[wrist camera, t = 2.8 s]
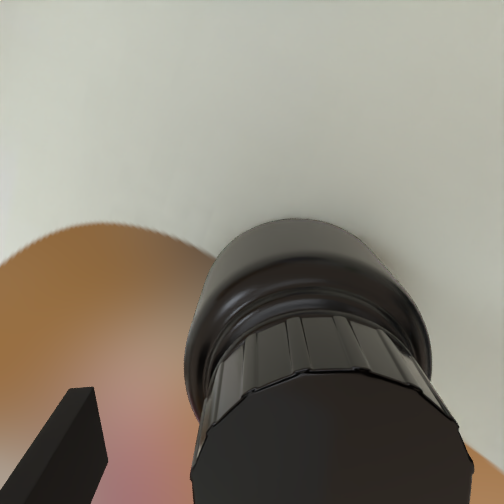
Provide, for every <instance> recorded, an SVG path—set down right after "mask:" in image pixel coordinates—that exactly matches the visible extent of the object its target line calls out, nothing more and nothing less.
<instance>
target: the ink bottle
mask: <svg viewBox="0 0 504 504" xmlns="http://www.w3.org/2000/svg"><path fill="white" fill-rule="evenodd" d="M431 374H432V352H431V344H430V339H429V335H428V331H427V328H426V325H425V322H424V320H423V318H422V315H421V313H420V311H419V309H418V308H417V306H416V304H415V303H414V301H413V300H412V298H411V297H410V295H409V294H408V293H407V291H406V290H405V289H404V288H403V287H402V285H401V284H400V283H399V282H398V281H397V280H396V279H395V277H394V276H393V275H392V274H391V273H390V272H389V271H388V269H387V268H386V267H385V266H384V265H383V264H382V262H381V261H380V260H379V259H378V258H377V257H376V256H375V254H374V253H373V252H372V251H371V250H370V249H369V248H368V247H367V246H366V245H365V244H364V243H363V242H362V241H361V240H359V239H358V238H357V237H355V236H354V235H352V234H351V233H349V232H347V231H346V230H344V229H342V228H339V227H337V226H334V225H332V224H329V223H325V222H322V221H317V220H311V219H283V220H277V221H272V222H268V223H264V224H262V225H259V226H256V227H254V228H252V229H250V230H248V231H246V232H244V233H242V234H241V235H239V236H238V237H237V238H235V239H234V240H233V241H232V242H230V243H229V244H228V245H227V246H226V247H225V248H224V250H223V251H222V252H221V253H220V254H219V256H218V257H217V259H216V260H215V262H214V263H213V265H212V267H211V269H210V271H209V273H208V275H207V278H206V281H205V283H204V287H203V290H202V293H201V296H200V299H199V302H198V305H197V309H196V312H195V315H194V318H193V321H192V324H191V327H190V330H189V334H188V338H187V342H186V348H185V356H184V377H185V385H186V390H187V395H188V398H189V402H190V404H191V407H192V410H193V412H194V414H195V416H196V418H197V420H198V422H199V424H200V425H199V430H198V435H197V440H196V446H195V451H194V456H193V461H192V467H191V472H190V480H191V481H192V489H193V501H194V504H469V502H470V493H471V483H472V474H473V473H474V464H473V461H472V459H471V457H470V456H469V454H468V452H467V450H466V447H465V445H464V442H463V440H462V437H461V435H460V433H459V430H458V429H459V425H458V424H457V422H456V420H455V419H454V417H453V416H452V414H451V413H450V411H449V410H448V408H447V407H446V405H445V404H444V402H443V401H442V399H441V398H440V396H439V395H438V393H437V392H436V390H435V389H434V387H433V385H432V384H431Z"/></svg>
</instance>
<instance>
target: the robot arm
mask: <svg viewBox="0 0 504 504" xmlns="http://www.w3.org/2000/svg"><path fill="white" fill-rule="evenodd" d="M107 463H108V457H107V452H106V447H105V442H104V437H103V432H102V427H101V422H100V417H99V412H98V407H97V401H96V396H95V391H94V387H83V388H71V389H69V390H68V391H67V393H66V394H65V396H64V397H63V399H62V400H61V402H60V403H59V405H58V406H57V408H56V409H55V411H54V412H53V413H52V415H51V416H50V418H49V420H48V421H47V422H46V424H45V425H44V427H43V428H42V430H41V431H40V433H39V434H38V436H37V437H36V438H35V440H34V442H33V443H32V444H31V446H30V447H29V449H28V450H27V452H26V453H25V455H24V456H23V458H22V459H21V461H20V462H19V464H18V465H17V466H16V468H15V469H14V471H13V472H12V474H11V475H10V477H9V478H8V480H7V481H6V483H5V484H4V486H3V487H2V489H1V490H0V504H91V501H92V499H93V496H94V494H95V492H96V489H97V487H98V484H99V482H100V480H101V477H102V475H103V473H104V470H105V468H106V466H107Z"/></svg>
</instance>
